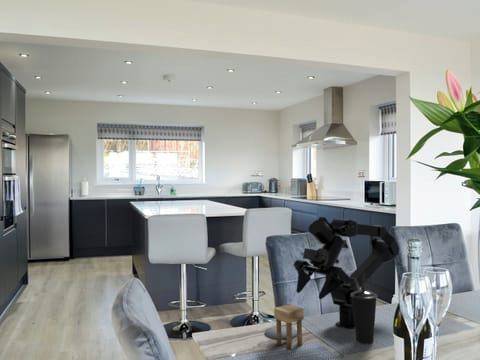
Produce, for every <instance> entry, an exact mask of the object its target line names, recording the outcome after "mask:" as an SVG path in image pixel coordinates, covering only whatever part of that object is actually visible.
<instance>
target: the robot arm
mask: <svg viewBox="0 0 480 360" xmlns="http://www.w3.org/2000/svg"><path fill="white" fill-rule="evenodd" d="M308 232H309V233H310V235H312V237H314V239H315V240H316V241H317V242H318V243H319V244H322V248H321V247H320V248H318V249H311V248H307V247H306V248H304V250H303V255H302V259H296V260H295V261H294V263H293V265H292V266H293V267H294V268H295V270H296V271H297V284H296V293H298V294H300V293H301V292H302V290H303V289H304V288H306V285H307V284H308V283H309V282H310V280H311V279H312V277H311V276H313V274H317V275H322V276H325V280H324V283H323V286H322V287H321V289H320V292H319V295H318V298H319V299H320V300H323V299H324V298H325V297H327V296H328V295H329V294H330V295H331V299H332V302H333V305H337V306H338V307H339V308H338V309H339V311H338V312H339V313H338V315H339V319H338V321H337V322H335V326H339V327H342V328H343V327H344V328H346V329H353V330H355V323H354V314H353V305H352V297H351V293H352V292H355V291H357V290H361V289H362V288H361V287H363V286H362V273H365V283H366V282H367V281H368V280H369V279H370V278H371V276H373V275H374V273H375V272H376V271H377V270H378V269H379V268H380V267H381V266H382V265H383V264H385V263H388V262H391V261H392V260H394V259H395V258H397V257H398V255H399V253H400V246H399V244H398V242H397V241H396V239H395V238H394V236H393V235H391V234H390V232H388V230H387V229H386V227H385V226H383V225H376V224H375V225H374V224H371V225H370V224H365V223H364V224H363V223H358V222H357V221H355V220H352V219H345V218H333V219H332V221H331V222H329V221H328V219H327V218H326V217H325V216H319V217H318V218H317V219H315V220H314V221H313V222H312V223H311V224H310V225H309V227H308ZM359 235H360V236H369V237H370V241H369V243H370V245H371V248H370V249H371V250H370V251H371V252H370V254H369V256H367V258H366V259H365V260H364V261H363V262H361V264H360V265H359V266H358V267H356V269H355V270H354V271H353V272H352V273H351V274H350V275H349V274H348V273H347V272H346V271H345V270H344V269H343V268H342V267H339V266H335V265H336V264H337V265H338V264H339V262H340V260H339V259H338V258H339V255H340V254H341V252H342V250H343V249H346V250H347V249H349V245H348V243H347V240H346V239H343V237H344V238H352V237H353V238H354V237H357V236H359ZM378 238H380V239H378ZM303 259H304V260H303ZM305 259H306V260H305ZM308 260H309V263H308ZM311 264H312V265H311Z"/></svg>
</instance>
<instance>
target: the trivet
mask: <svg viewBox="0 0 480 360" xmlns="http://www.w3.org/2000/svg"><path fill="white" fill-rule="evenodd" d="M264 334H265V336H266V335H267V337H268V338H270V339H275V340H277V328H276V325H275V326H271V327H268V328H266V329H265V330H264ZM293 338H297V328H294V327H292V339H293ZM281 339H282V340H287V339H286V325H285V326H283V325H281Z"/></svg>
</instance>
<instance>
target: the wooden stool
mask: <svg viewBox="0 0 480 360" xmlns="http://www.w3.org/2000/svg"><path fill="white" fill-rule="evenodd" d="M273 311H274V312H273V313H274V316H273V318H274V319H275V320H276V321H275V323H276V325H275V326H276V328H277V339H276V346H277V345H278V346H282V345H283V344H282V343H283V342H282V341H283V339H281V326H282V322H284V323H285V326H286V339H285V340H286V350H292V348H293V347H292V345H293V344H292V342H293V338H292V328H293V327H292V326H293V324H292V323H295V322H296V330H297V336H296V341H297V342H296V343H297V346H298V347H302V346H303V323H302V321H303V320H304V314H305V313H304V312H305V311H304V308H303V307H298V306H296V305H293V304H285V305H282V306H278V307H277V306H276V307H274V309H273Z"/></svg>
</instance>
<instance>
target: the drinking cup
mask: <svg viewBox="0 0 480 360" xmlns="http://www.w3.org/2000/svg"><path fill="white" fill-rule="evenodd" d="M361 287H362V289H360V290H357V291H355V292H352V293H351V297H352V305H353V314H354V323H355V328H354V330H355V339H356V342H358V343H360V344H366V345H367V344H373V343H374V337H375V324H376V323H375V321H376V310H377V299H378V294H377V293H375V292H373V291H371V290H367V289H366V282H365V273H362V286H361Z"/></svg>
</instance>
